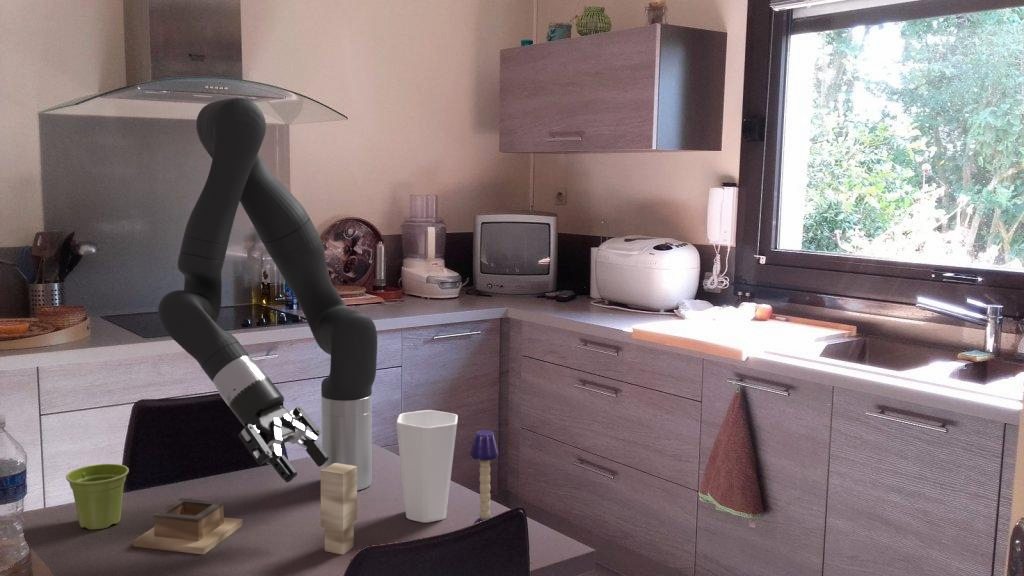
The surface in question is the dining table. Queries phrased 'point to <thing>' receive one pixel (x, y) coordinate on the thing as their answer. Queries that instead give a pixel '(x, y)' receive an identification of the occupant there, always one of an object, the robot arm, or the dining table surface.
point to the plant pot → (98, 494)
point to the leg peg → (339, 506)
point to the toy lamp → (484, 467)
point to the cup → (426, 462)
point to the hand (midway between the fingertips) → (309, 470)
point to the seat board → (189, 527)
